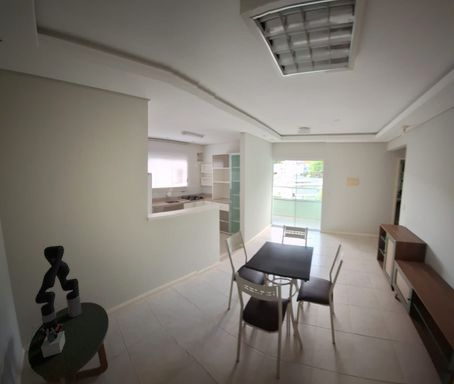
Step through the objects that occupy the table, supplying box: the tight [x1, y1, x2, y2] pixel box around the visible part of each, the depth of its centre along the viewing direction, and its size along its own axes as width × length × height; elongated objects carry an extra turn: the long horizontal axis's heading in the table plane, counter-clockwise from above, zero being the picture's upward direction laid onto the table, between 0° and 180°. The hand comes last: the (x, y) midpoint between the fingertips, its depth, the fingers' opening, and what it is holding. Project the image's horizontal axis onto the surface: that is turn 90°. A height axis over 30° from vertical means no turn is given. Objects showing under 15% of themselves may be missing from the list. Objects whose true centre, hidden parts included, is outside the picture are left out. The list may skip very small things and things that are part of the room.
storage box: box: [41, 333, 66, 358], centre depth 152 cm, size 10×10×8 cm
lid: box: [40, 330, 65, 349], centre depth 151 cm, size 11×11×7 cm
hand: (53, 338), depth 151 cm, fingers closed on lid, 3 cm apart
